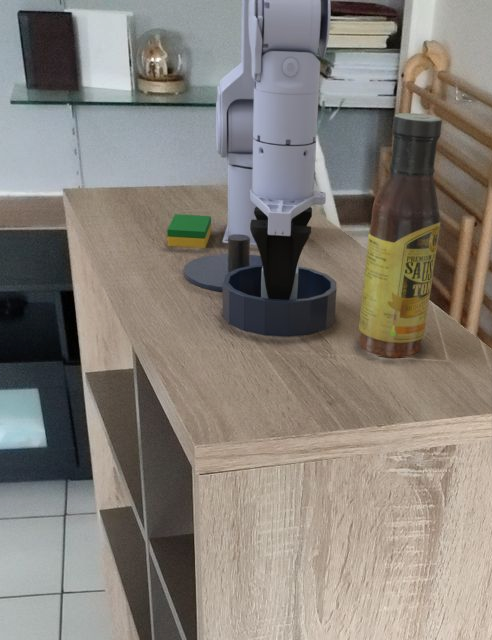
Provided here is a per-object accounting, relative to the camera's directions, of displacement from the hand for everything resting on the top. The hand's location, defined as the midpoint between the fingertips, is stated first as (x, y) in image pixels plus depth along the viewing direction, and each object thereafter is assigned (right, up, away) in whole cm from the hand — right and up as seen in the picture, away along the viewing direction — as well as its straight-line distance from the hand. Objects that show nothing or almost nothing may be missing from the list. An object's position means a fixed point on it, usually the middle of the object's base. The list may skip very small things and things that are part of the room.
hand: (279, 291), depth 89 cm
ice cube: (0, -1, +1) cm, 1 cm away
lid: (-5, +6, +11) cm, 13 cm away
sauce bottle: (+11, -7, -3) cm, 13 cm away
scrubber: (-12, +14, +21) cm, 28 cm away
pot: (0, -2, +2) cm, 3 cm away
